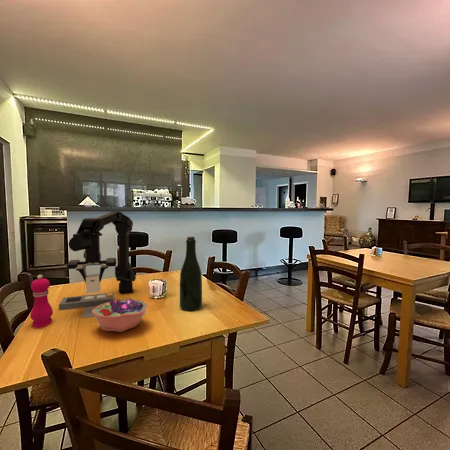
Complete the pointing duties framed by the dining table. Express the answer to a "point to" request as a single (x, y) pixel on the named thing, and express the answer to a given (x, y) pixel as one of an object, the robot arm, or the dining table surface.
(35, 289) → the pepper mill
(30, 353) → the dining table surface
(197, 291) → the dark green wine bottle
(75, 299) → the power strip
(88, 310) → the mat
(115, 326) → the cell model
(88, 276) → the block
